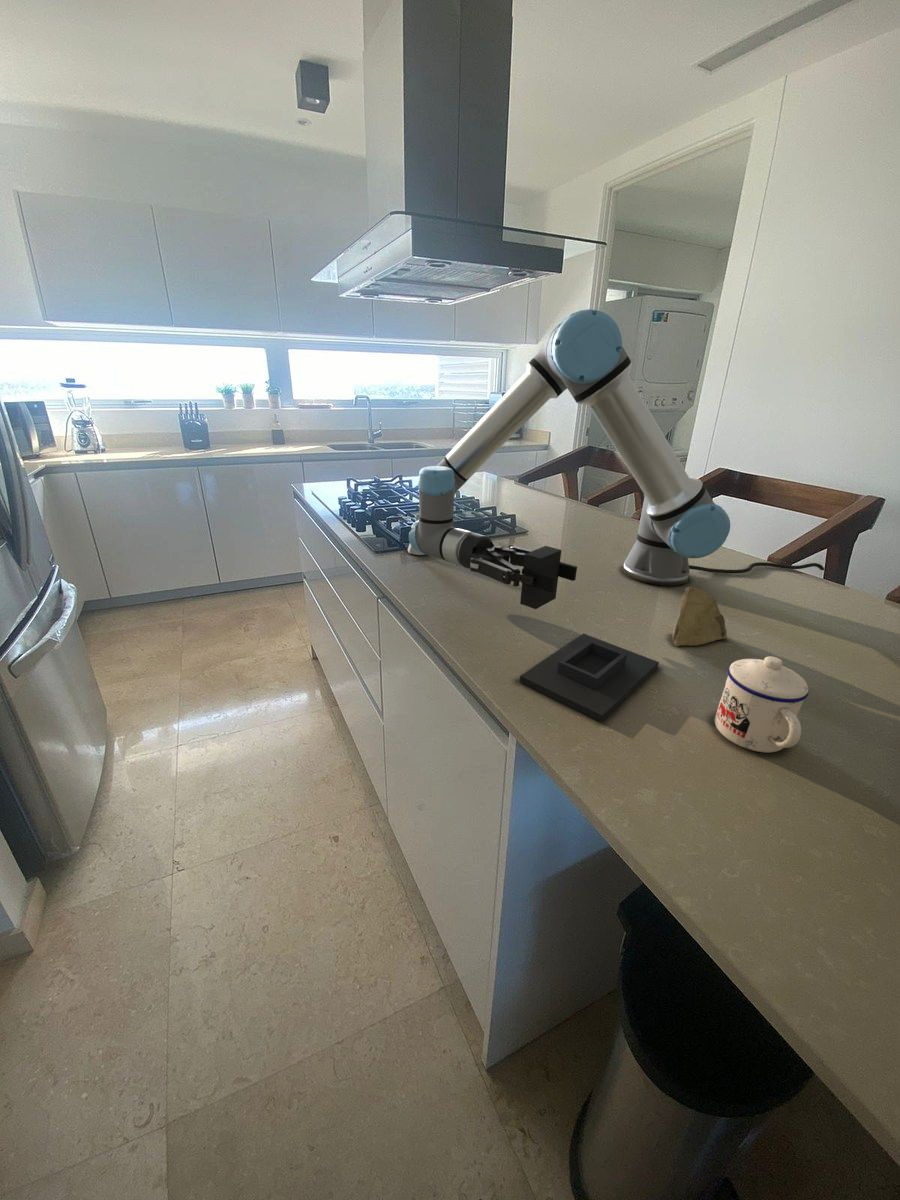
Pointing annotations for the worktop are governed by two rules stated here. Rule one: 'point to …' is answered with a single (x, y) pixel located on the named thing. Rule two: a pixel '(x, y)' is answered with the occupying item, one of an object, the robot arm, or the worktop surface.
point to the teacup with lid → (761, 705)
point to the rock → (698, 619)
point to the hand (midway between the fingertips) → (564, 579)
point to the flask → (410, 548)
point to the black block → (545, 563)
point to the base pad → (590, 675)
